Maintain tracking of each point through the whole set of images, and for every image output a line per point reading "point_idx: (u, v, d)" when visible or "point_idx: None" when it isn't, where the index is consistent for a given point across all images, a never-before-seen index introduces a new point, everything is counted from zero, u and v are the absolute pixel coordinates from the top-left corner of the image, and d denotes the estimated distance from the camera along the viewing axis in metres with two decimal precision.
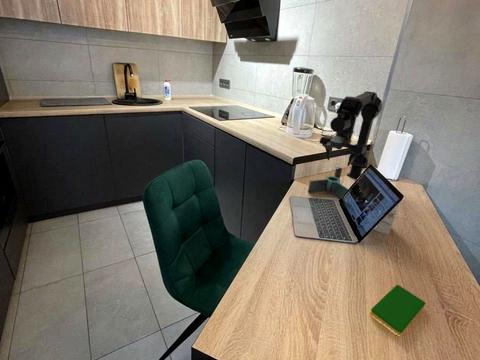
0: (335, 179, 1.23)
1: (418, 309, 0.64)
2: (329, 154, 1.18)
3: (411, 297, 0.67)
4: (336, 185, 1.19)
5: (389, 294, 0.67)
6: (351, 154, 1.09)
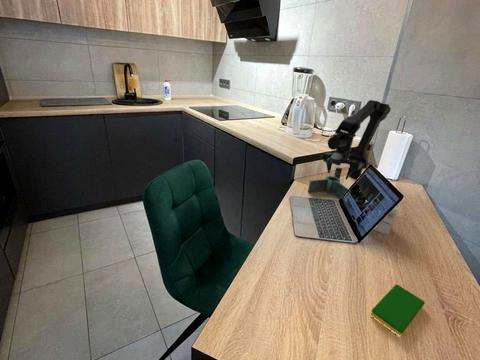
0: (335, 179, 1.23)
1: (418, 309, 0.64)
2: (329, 168, 1.32)
3: (410, 297, 0.67)
4: (336, 185, 1.19)
5: (389, 294, 0.67)
6: (349, 169, 1.23)
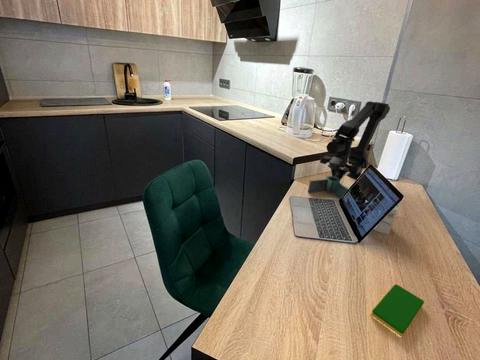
0: (335, 179, 1.23)
1: (418, 308, 0.64)
2: (334, 174, 1.31)
3: (410, 296, 0.67)
4: (336, 185, 1.19)
5: (388, 294, 0.67)
6: (341, 171, 1.25)
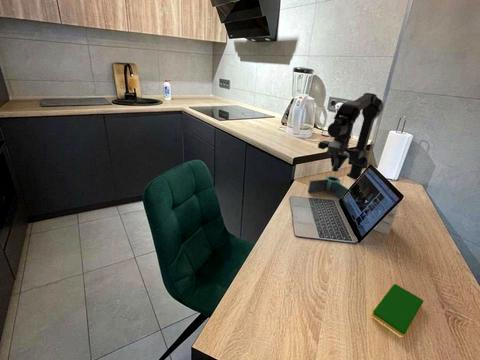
0: (335, 179, 1.23)
1: (417, 308, 0.64)
2: (333, 160, 1.19)
3: (409, 296, 0.67)
4: (336, 185, 1.19)
5: (388, 294, 0.67)
6: (342, 157, 1.13)
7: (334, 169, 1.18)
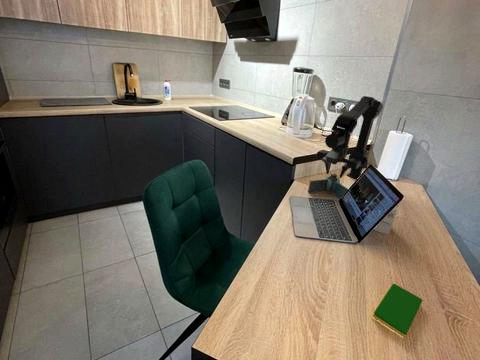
0: None
1: (417, 307, 0.64)
2: (328, 168, 1.21)
3: (408, 295, 0.67)
4: (336, 185, 1.19)
5: (388, 294, 0.67)
6: (343, 167, 1.14)
7: None
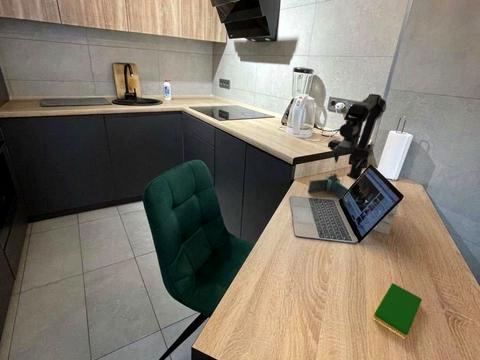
0: None
1: (417, 307, 0.64)
2: (337, 157, 1.24)
3: (408, 295, 0.67)
4: (336, 185, 1.19)
5: (387, 294, 0.67)
6: (358, 158, 1.15)
7: None
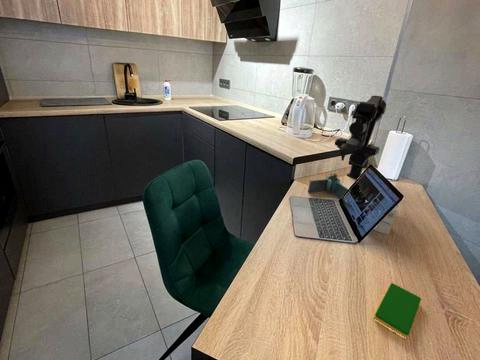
0: None
1: (416, 306, 0.64)
2: (343, 155, 1.26)
3: (407, 294, 0.67)
4: (336, 185, 1.19)
5: (387, 294, 0.67)
6: (365, 155, 1.17)
7: None
